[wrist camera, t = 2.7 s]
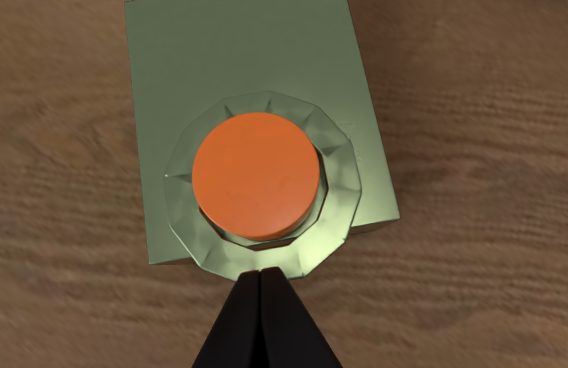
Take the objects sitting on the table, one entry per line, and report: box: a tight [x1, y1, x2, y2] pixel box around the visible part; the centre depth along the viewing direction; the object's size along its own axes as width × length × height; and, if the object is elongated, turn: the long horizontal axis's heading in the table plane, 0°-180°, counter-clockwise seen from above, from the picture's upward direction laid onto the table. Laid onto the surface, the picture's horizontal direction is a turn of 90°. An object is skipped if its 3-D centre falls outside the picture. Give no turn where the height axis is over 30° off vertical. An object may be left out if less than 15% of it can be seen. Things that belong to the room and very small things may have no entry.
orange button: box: [192, 112, 320, 241], centre depth 13 cm, size 4×4×2 cm
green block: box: [124, 0, 401, 282], centre depth 17 cm, size 13×10×7 cm
